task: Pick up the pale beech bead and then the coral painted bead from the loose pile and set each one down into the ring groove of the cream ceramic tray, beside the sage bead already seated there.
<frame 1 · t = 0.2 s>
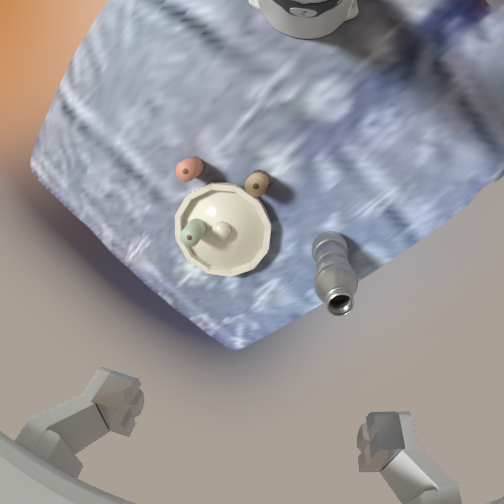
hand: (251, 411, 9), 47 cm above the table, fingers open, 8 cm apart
silver metal bottle: (328, 243, 57), on the table
bead b: (194, 166, 54), on the table
tray: (223, 228, 58), on the table
bead a: (259, 180, 53), on the table
bead c: (197, 227, 58), point 1 cm above the table, touching tray
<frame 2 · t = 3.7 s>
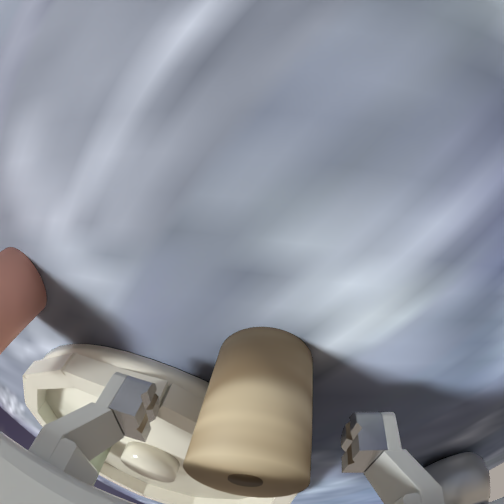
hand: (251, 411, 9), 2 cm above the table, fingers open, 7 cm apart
silver metal bottle: (439, 462, 15), on the table
bead b: (22, 280, 12), on the table
tray: (157, 444, 16), on the table
bead a: (265, 362, 11), on the table
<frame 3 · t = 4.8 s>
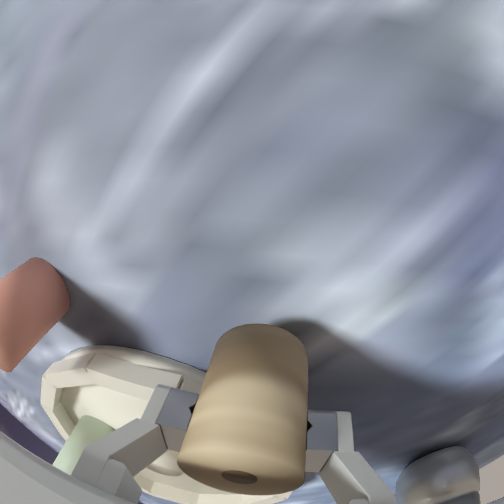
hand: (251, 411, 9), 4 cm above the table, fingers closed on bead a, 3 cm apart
silver metal bottle: (431, 456, 16), on the table
bead b: (45, 287, 14), on the table
tray: (166, 440, 18), on the table
bead a: (260, 359, 11), point 1 cm above the table, touching gripper
bead c: (101, 430, 17), point 1 cm above the table, touching tray
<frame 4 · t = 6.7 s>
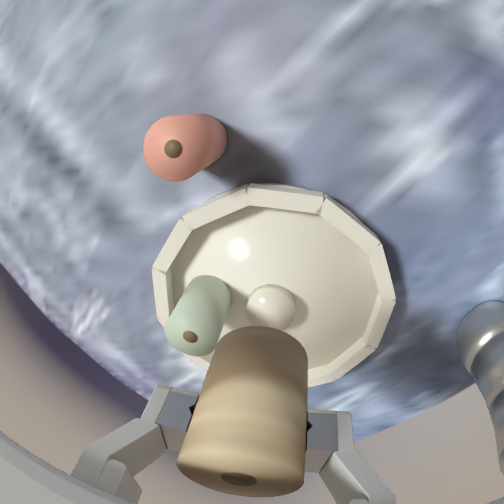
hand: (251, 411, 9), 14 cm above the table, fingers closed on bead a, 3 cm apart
silver metal bottle: (476, 319, 23), on the table
bead b: (201, 139, 19), on the table
tray: (272, 296, 24), on the table
bead a: (260, 361, 11), point 12 cm above the table, touching gripper
bead c: (209, 294, 24), point 1 cm above the table, touching tray
when the fingers open (3 cm above the table, at t = 8.5 s): bead a stays where it is, resting on tray.
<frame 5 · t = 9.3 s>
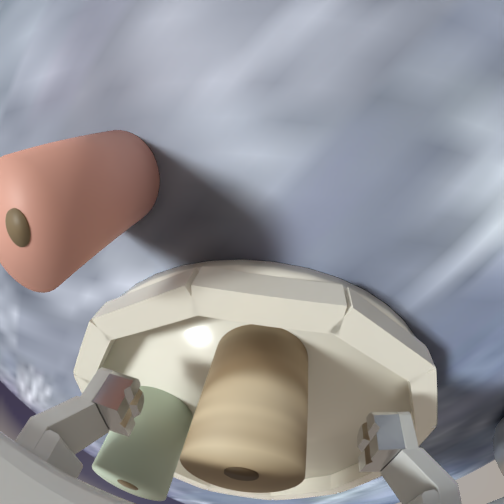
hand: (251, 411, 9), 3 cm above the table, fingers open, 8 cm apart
bead b: (116, 178, 10), on the table
tray: (253, 412, 15), on the table
bead a: (261, 359, 11), point 1 cm above the table, touching tray
bead c: (160, 407, 14), point 1 cm above the table, touching tray
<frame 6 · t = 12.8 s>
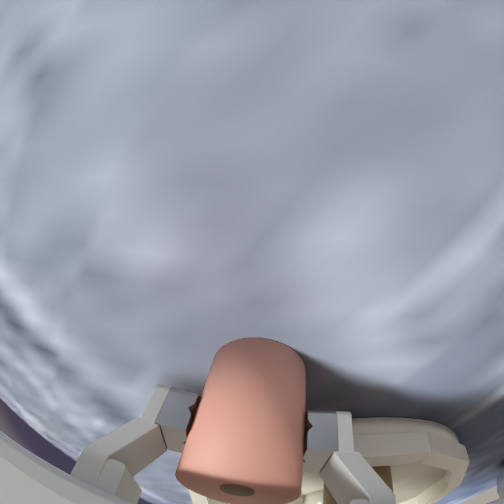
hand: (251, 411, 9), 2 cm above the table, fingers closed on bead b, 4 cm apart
bead b: (258, 372, 11), on the table, touching gripper
tray: (330, 484, 16), on the table
bead a: (357, 467, 12), point 1 cm above the table, touching tray
when the fingers open (3 cm above the table, at t = 17.5 s): bead b stays where it is, resting on tray.
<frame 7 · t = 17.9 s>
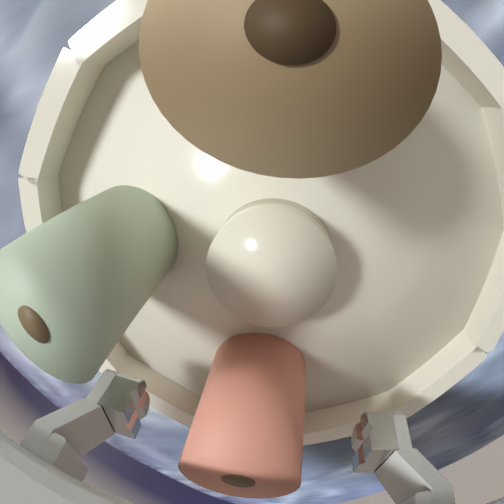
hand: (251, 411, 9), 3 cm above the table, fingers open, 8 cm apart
bead b: (259, 366, 11), point 1 cm above the table, touching tray
tray: (276, 242, 10), on the table
bead a: (293, 79, 7), point 1 cm above the table, touching tray
bead c: (129, 236, 10), point 1 cm above the table, touching tray
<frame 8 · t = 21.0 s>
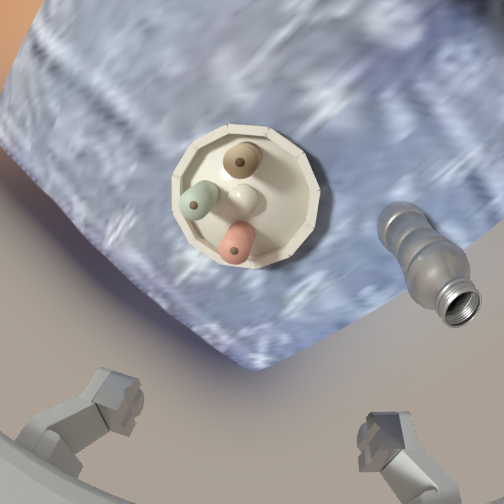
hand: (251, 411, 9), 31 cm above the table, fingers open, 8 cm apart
silver metal bottle: (395, 220, 37), on the table
bead b: (241, 234, 40), point 1 cm above the table, touching tray
tray: (245, 195, 38), on the table
bead a: (247, 156, 35), point 1 cm above the table, touching tray
bead c: (205, 193, 38), point 1 cm above the table, touching tray
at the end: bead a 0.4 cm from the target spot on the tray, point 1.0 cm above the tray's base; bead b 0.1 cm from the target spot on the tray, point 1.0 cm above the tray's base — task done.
